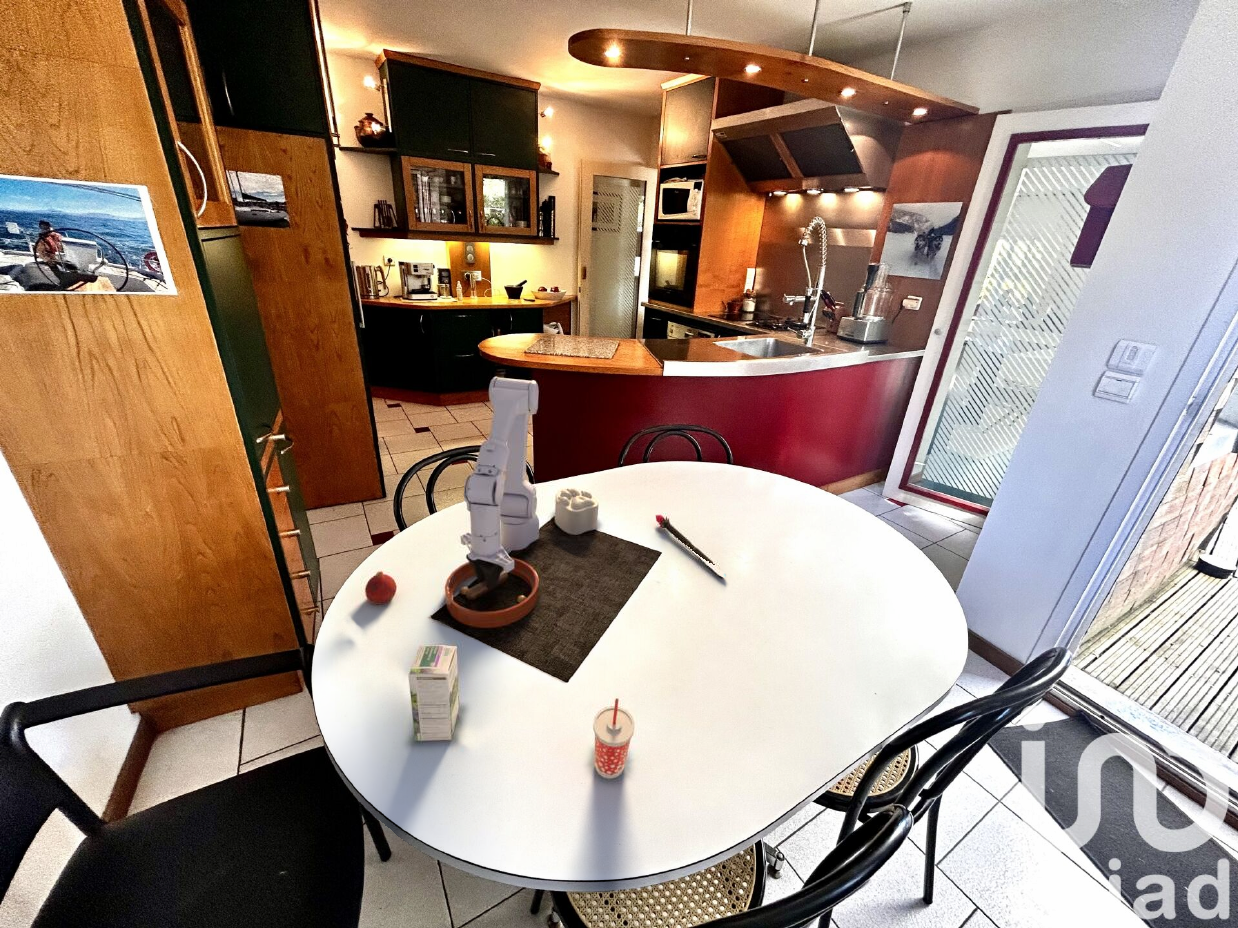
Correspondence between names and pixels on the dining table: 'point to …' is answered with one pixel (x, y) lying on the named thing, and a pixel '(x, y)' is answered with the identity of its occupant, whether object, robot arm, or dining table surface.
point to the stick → (484, 587)
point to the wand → (680, 536)
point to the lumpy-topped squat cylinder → (576, 511)
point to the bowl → (497, 616)
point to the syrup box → (434, 692)
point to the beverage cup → (612, 739)
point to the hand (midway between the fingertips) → (487, 583)
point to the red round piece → (380, 588)
